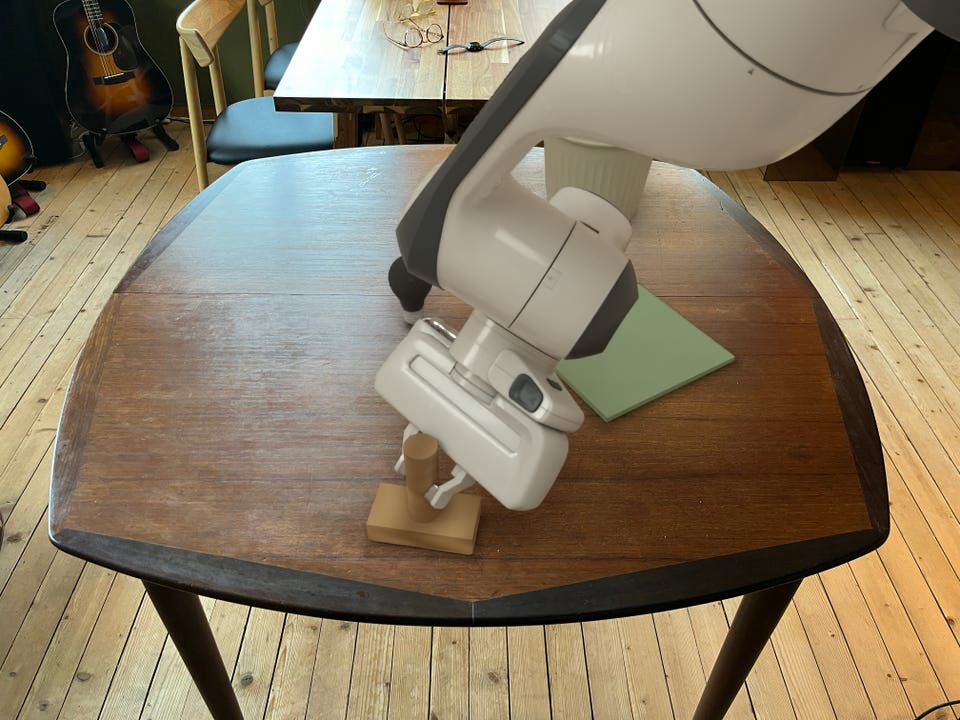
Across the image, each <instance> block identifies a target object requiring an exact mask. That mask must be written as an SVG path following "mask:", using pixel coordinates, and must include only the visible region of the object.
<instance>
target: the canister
mask: <svg viewBox="0 0 960 720" xmlns="http://www.w3.org/2000/svg"><path fill="white" fill-rule="evenodd" d="M543 153H544V154H543V155H544V175H545V176H544V177H545V191H546V192H545V193H546V201H547V202H548V201H549V200H550V199H551V198H552V197H553V196H554V195H555V194H556V193H557V192H558V191H559V190H560V189H562V188H564V187H577V188H581V189H584V190H587V191H591V192H593V193H595V194H597V195H599V196H601V197H603V198H604V199H606V200H608V201H609V202H610V203H612V204H613V205H614V206H616V207H617V208H618V209H619V210H620V211H621V212H622V213H623V214H624V216H625V217H626V218H627V219H628V221H629V223H630V222H631V221H632V220H633V218H634V217H635V215H636V213H637V211H638V208H639V205H640V202H641V199H642V196H643V193H644V190H645V187H646V185H647V181H648V177H649V174H650V170H651V167H652V164H653V160H654V158H651V157H649V156H646V155H643V154H640V153H637V152H634V151H631V150H627V149H624V148H620V147H617V146H613V145H609V144H605V143H601V142H596V141H591V140H586V139H579V138H571V137H553V138H548V139H545V140H543Z"/></svg>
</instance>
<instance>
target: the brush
mask: <svg viewBox="0 0 960 720" xmlns="http://www.w3.org/2000/svg"><path fill="white" fill-rule="evenodd" d="M402 446H403V453H404V464H405V475H406V479H405V485H401V484H393V483H388V482H387V483H386V482H379V485H378V487H377V491H376V494H375V497H374V500H373V503H372V506H371V508H370V512H369V514H368V517H367V521H366V523H365V526H366V533H367V539H368V540H371V541H373V542H379V543H386V544H391V545H392V544H393V545H399V546H405V547H406V546H407V547H413V548H419V549H420V548H421V549H426V550H433V551H440V552H446V553H453V554H461V555H468V556H470V555H473V554H474V548H475V543H476V539H477V534H478V529H479V523H480V518H481V514H482V496H481V495H474V494H466V493H460V492H458V493H456V494H453V496H452V497H451V499H450V500H449V502H448V503H447V505H446V506H445V507H444V508H443V509H435V508H434V507H433V506H432V505H430V504H429V503H428V502H427V501H426V500H425V499H424V495H425V493H426V492H428V491H429V487H430V485H431V484H432V483H433V482H435V483H440V463H439V461H440V460H439V447H438V443H437V441H436V439H435V438H434V437H432V436H431V435H429V434H425V433H418V434H414V435H411V436H410V437H408V438H407V439H406V440H405V442H404V444H403V443H402Z"/></svg>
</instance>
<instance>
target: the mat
mask: <svg viewBox="0 0 960 720" xmlns="http://www.w3.org/2000/svg"><path fill="white" fill-rule="evenodd" d="M637 286H638V293H639V298H638V300H637V301H636V303H635V304H634V306H633V307H632V308H631V310H630V311H629V313H628V314H627V315H626V317H625V318H624V320H623V321H622V323H621V324H620V326H619V327H618V329H617V331H616V332H615V334H614V335H613V337H612V339H611V340H610V342H609V343H608V345H607V347H606V348H605V350H604V351H603V353H600V354H596V355H593V356H589V357H585V358H580V359H572V360H564V359H563V358H561V360H559V363H558V365H557V366H556V367H555V369H554V370H553V371H554V372H555V373H556V374H557V376H558V378H559V379H560V380H562V381H563V382H564V383H565V384H567V386H568V387H569V388H571V390H572V391H574V392H575V394H577V395H578V396H579V398H580V399H582V400H583V402H585V403H586V404H587V405H588V407H590V408H591V410H593V411H594V412H595V413H596V414H597V415H598V416H599V417H600V418H601V419H602V420H603V421H604V422H605V423H609V422H610V421H612V420H615V419H617V418H619V417H621V416H623V415H625V414H627V413H629V412H633V411H634V410H636V409H638V408H640V407H642V406H644V405H647V404H648V403H650V402H653V401H655V400H656V399H658V398H660V397H662V396H664V395H667V394H669V393H671V392H673V391H675V390H678V389H679V388H682V387H683V386H685V385H687V384H690V383H692V382H694V381H695V380H698V379H700V378H702V377H704V376H707V375H708V374H710V373H713V372H715V371H717V370H719V369H721V368H723V367H725V366H727V365H729V364H731V363H733V362H734V361H735V359H736V356H735V355H733V353H731V352H730V351H728V350H727V349H726V348H725V347H723V346H722V345H720V343H718V342H716V341H715V340H714V339H713V338H711V337H710V336H708V335H707V334H706V333H704V332H703V331H702V330H700V328H698V327H696V326H695V324H693V323H691V322H690V321H688V320H687V318H685V317H683V315H681V314H679V313H678V312H677V311H675V310H674V309H673V308H672V307H670V306H669V305H668V304H666V303H665V302H664V301H662V300H661V299H660V298H658V297H657V296H655V295H654V294H653V293H651V291H649V290H647V289H646V288H645V287H644V286H643V285H641V284H640V283H638V282H637Z"/></svg>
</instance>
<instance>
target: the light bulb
mask: <svg viewBox="0 0 960 720" xmlns="http://www.w3.org/2000/svg"><path fill="white" fill-rule="evenodd" d="M387 281H388V285H389V288H390V289H391V291H392V293H393V294H394V295H395V297H396V298H397V299H398V300H399V302H400V305H401V308H402V314H403V319H404V321H405V322H406V323H408V324H411V325H413V326H414V324H415V323H416V322H417V321H418V320H419V319H422V318H424V306H425V302H426V301H425V300H426V298H427V297H428V295H429V293H430V292H431V290H432V287H433V285H432V284H430V283H428V282H426V281H424V280H422V279H420V278H418V277H416V276H414V275H412V274H410V273H409V272H408V271H407V268H406V266H405V264H404V261H403V258H402V255H400V256H398V257H397V258H396V259H395V260H394V261H393V262H392V263H391V265H390V267H389V270H388V273H387Z"/></svg>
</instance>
